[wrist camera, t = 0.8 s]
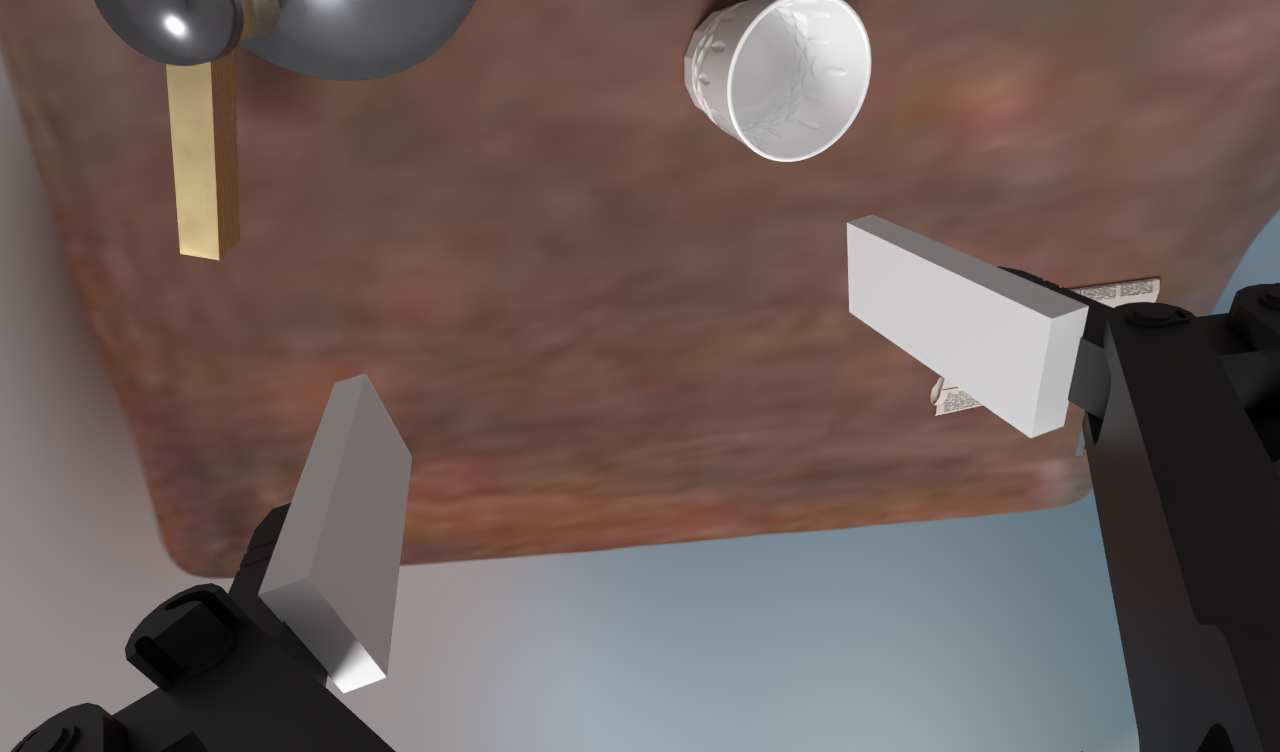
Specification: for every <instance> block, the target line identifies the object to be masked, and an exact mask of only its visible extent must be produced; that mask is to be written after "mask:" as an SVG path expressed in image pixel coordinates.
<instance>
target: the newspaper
mask: <svg viewBox="0 0 1280 752" xmlns="http://www.w3.org/2000/svg"><path fill="white" fill-rule="evenodd" d="M1159 285H1160V280H1159V279H1157V278H1153V279H1145V280H1138V281H1130V282H1122V283H1115V284H1107V285H1100V286H1092V287H1084V288H1077V289H1069V290H1071V291H1073V292H1076V293H1078V294H1081V295H1083V296H1086V297H1088V298H1090V299H1093V300H1095V301H1098V302H1100V303H1103V304H1105V305H1108V306H1110V307H1112V308H1114V307H1116V306H1119V305H1123V304H1127V303H1135V302H1153V303H1155V302H1156V299H1157V296H1158V293H1159ZM931 403H932V404H933V405H937V410H936V415H935V416H937V415H941V414H946V413H950V412H955V411H959V410H964V409H968V408H973V407H977V406H982V404H981V403H979V402H978V401H977V400H975V399H974V398H972V397H971V396H969V395H968V394H967V393H965V392H964V391H962V390H961V389H959V388H958V387H957V386H955V385H954V384H952V383H951V382H949V381H948V380H946V379H945V378H944V377H940V378H939V380H938V382H937V384H936V385H935V386H934V387H933V389H932V392H931Z"/></svg>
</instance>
